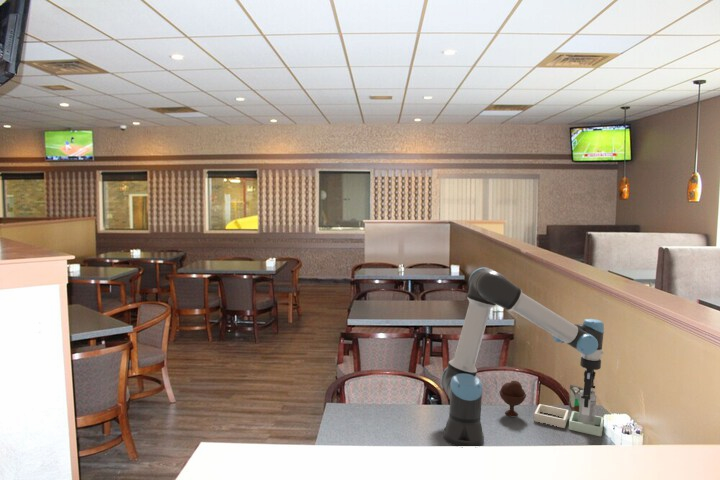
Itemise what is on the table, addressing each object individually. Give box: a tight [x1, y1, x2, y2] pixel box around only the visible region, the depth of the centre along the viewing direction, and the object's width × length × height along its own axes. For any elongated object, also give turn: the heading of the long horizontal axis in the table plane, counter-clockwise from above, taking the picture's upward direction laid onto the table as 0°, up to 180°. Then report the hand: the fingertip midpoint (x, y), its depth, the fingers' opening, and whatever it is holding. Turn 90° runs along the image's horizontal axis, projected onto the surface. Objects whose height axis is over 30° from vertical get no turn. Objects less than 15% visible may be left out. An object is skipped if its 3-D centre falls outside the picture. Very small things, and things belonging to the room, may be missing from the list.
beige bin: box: [533, 403, 570, 429], centre depth 215 cm, size 12×12×4 cm
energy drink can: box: [577, 390, 597, 426], centre depth 208 cm, size 6×6×15 cm
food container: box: [568, 384, 584, 413], centre depth 224 cm, size 12×6×10 cm, turn 168°
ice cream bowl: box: [499, 380, 527, 417], centre depth 219 cm, size 11×11×15 cm
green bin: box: [568, 411, 605, 437], centre depth 209 cm, size 12×12×4 cm
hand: (586, 409), depth 208 cm, fingers open, 13 cm apart
